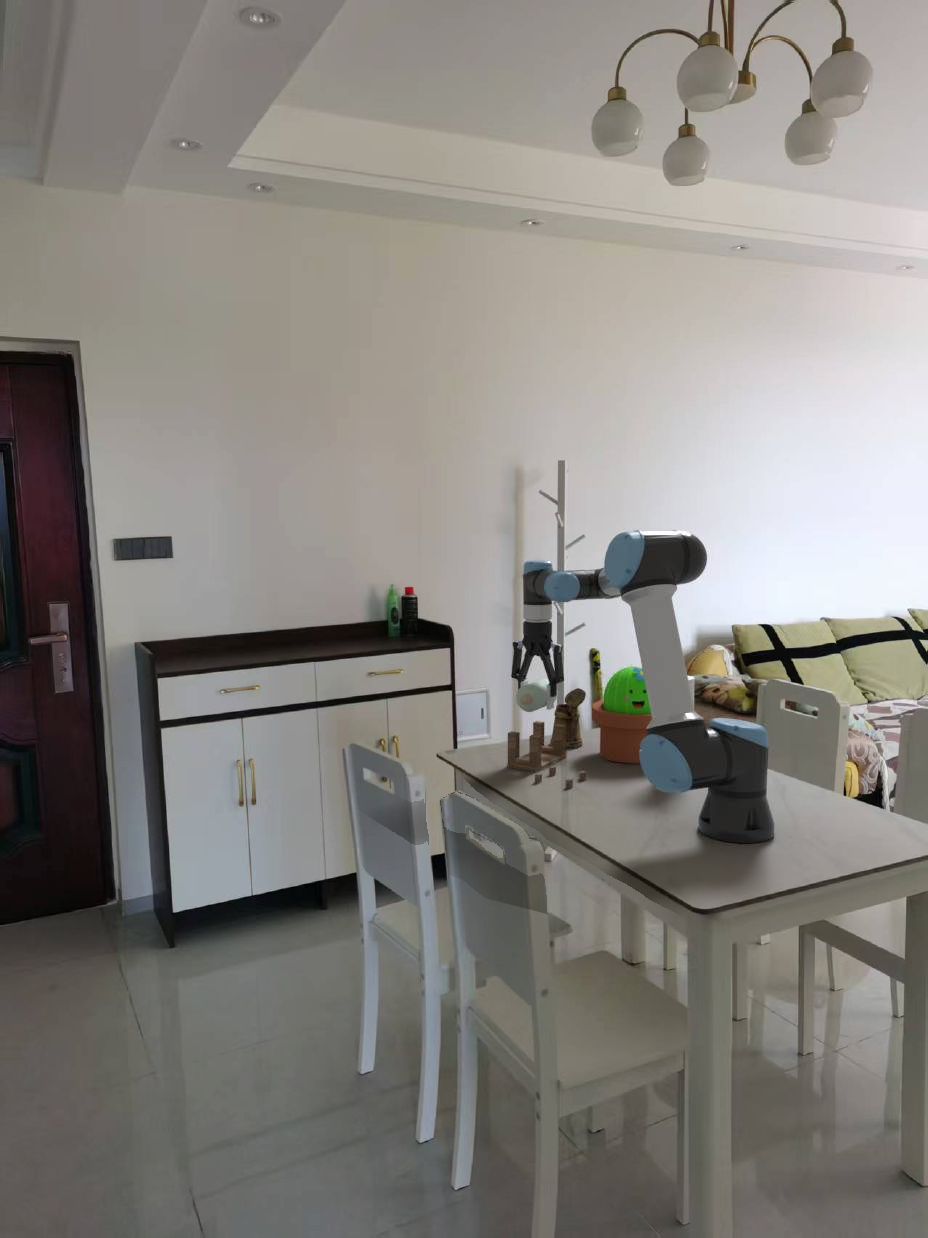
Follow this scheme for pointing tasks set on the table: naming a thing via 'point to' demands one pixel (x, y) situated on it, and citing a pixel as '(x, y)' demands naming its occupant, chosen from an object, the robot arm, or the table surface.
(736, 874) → the table surface
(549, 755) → the roll holder
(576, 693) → the wooden mug
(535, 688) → the paper roll
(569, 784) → the wooden cubes
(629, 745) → the potted cactus
